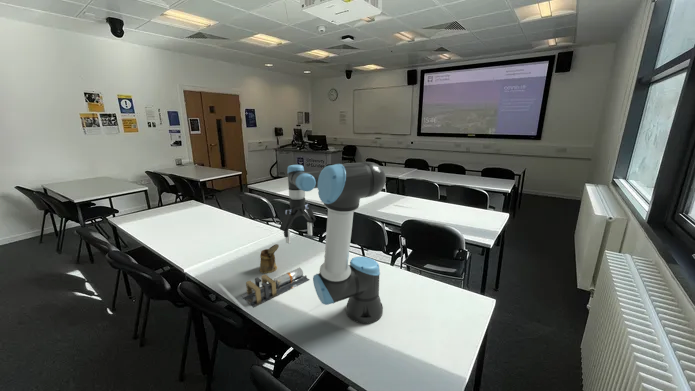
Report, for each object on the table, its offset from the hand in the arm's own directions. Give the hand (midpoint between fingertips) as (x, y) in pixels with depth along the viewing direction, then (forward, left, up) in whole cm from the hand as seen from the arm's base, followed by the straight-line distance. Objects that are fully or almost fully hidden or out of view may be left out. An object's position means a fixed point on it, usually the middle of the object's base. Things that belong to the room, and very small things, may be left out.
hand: (299, 238), depth 140 cm
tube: (-2, +9, -19) cm, 21 cm away
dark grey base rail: (-2, +16, -20) cm, 26 cm away
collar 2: (-2, +20, -20) cm, 28 cm away
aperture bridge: (-2, +23, -20) cm, 31 cm away
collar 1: (-2, +27, -20) cm, 34 cm away
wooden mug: (+14, +10, -21) cm, 27 cm away
